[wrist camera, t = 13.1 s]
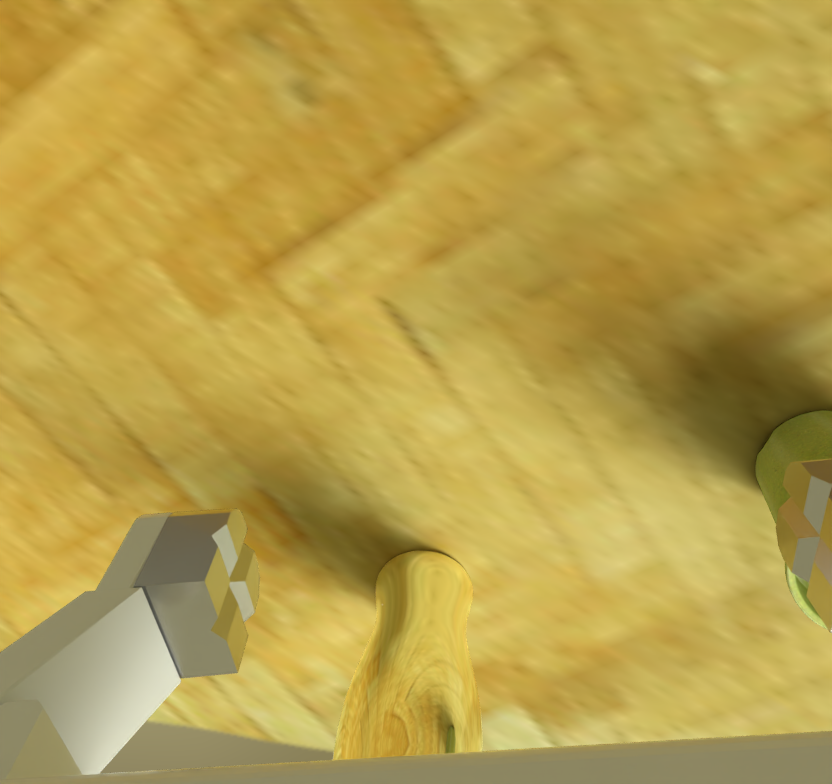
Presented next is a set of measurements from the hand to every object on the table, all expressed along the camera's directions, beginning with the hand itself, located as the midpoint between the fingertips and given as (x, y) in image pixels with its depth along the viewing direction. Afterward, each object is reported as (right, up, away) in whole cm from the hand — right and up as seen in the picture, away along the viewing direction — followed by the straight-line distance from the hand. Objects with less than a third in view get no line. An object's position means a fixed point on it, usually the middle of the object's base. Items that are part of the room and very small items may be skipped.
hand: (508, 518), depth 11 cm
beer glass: (-1, -10, +33) cm, 34 cm away
